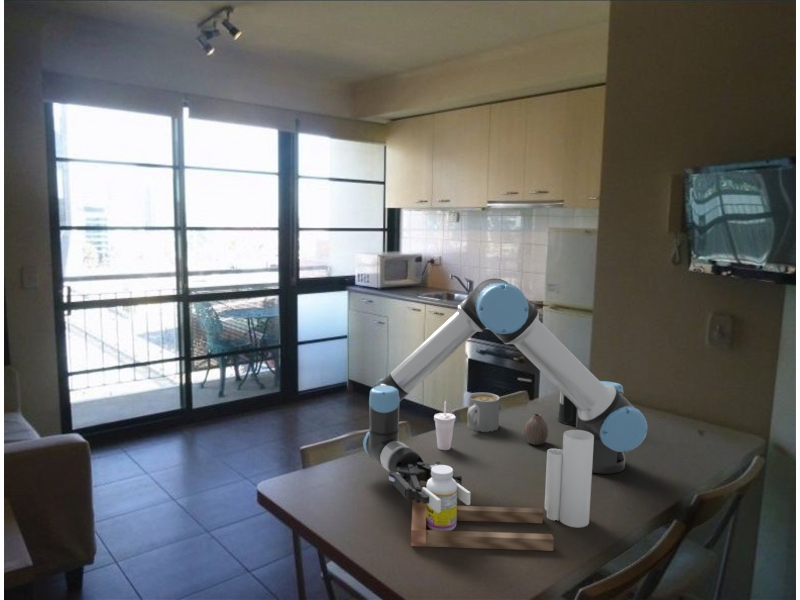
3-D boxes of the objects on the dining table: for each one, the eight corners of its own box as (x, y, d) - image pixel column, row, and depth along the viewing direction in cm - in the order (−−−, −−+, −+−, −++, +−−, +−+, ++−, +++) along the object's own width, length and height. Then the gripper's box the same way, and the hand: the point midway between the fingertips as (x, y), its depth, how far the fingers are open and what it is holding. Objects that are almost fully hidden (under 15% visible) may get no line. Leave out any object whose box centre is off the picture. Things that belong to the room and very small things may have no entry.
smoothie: (455, 444, 177) (456, 399, 175) (454, 452, 170) (456, 405, 168) (433, 443, 177) (434, 398, 175) (432, 451, 171) (433, 404, 169)
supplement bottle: (423, 518, 130) (424, 463, 128) (453, 517, 131) (454, 462, 129) (428, 534, 123) (429, 476, 122) (459, 533, 124) (460, 475, 122)
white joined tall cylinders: (594, 520, 132) (599, 435, 130) (578, 531, 128) (583, 443, 125) (551, 502, 141) (555, 421, 138) (533, 512, 136) (537, 429, 133)
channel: (540, 518, 133) (541, 504, 132) (553, 550, 120) (554, 534, 119) (412, 514, 134) (412, 500, 133) (411, 545, 121) (411, 529, 121)
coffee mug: (482, 419, 199) (483, 390, 198) (504, 427, 191) (505, 397, 190) (453, 427, 191) (454, 397, 189) (475, 436, 183) (476, 405, 182)
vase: (534, 448, 174) (535, 420, 173) (519, 440, 180) (520, 413, 179) (552, 444, 177) (553, 416, 176) (537, 437, 183) (538, 410, 182)
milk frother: (556, 415, 204) (558, 374, 202) (603, 418, 201) (606, 376, 199) (560, 430, 190) (563, 385, 188) (611, 433, 187) (614, 388, 185)
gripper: (436, 469, 147) (492, 509, 127) (364, 484, 138) (412, 530, 118) (436, 440, 146) (493, 476, 126) (364, 454, 137) (413, 495, 117)
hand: (454, 502), depth 122 cm, fingers closed on supplement bottle, 7 cm apart
